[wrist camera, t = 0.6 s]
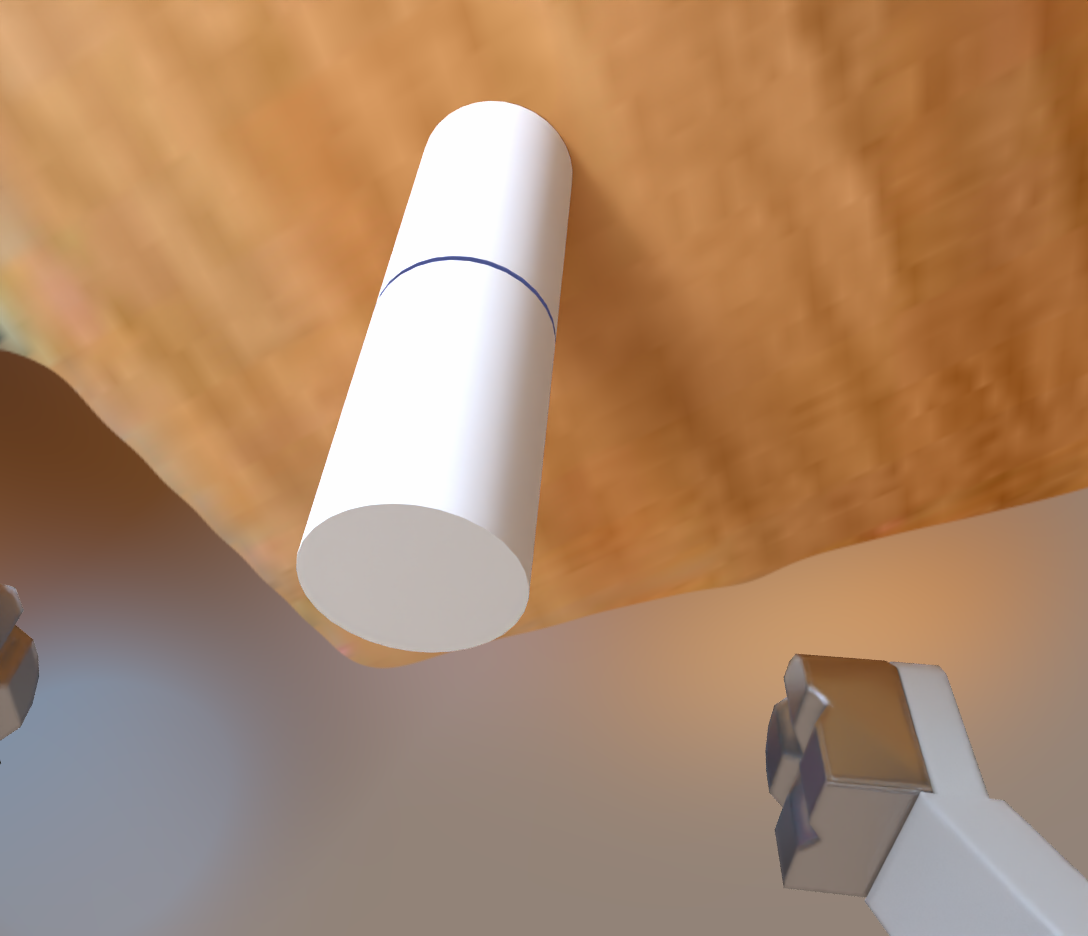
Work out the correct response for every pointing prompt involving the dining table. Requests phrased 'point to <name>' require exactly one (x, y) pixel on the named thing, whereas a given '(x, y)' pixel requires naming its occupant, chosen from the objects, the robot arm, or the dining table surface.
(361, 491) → the cylindrical container
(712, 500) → the dining table surface
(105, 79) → the dining table surface
